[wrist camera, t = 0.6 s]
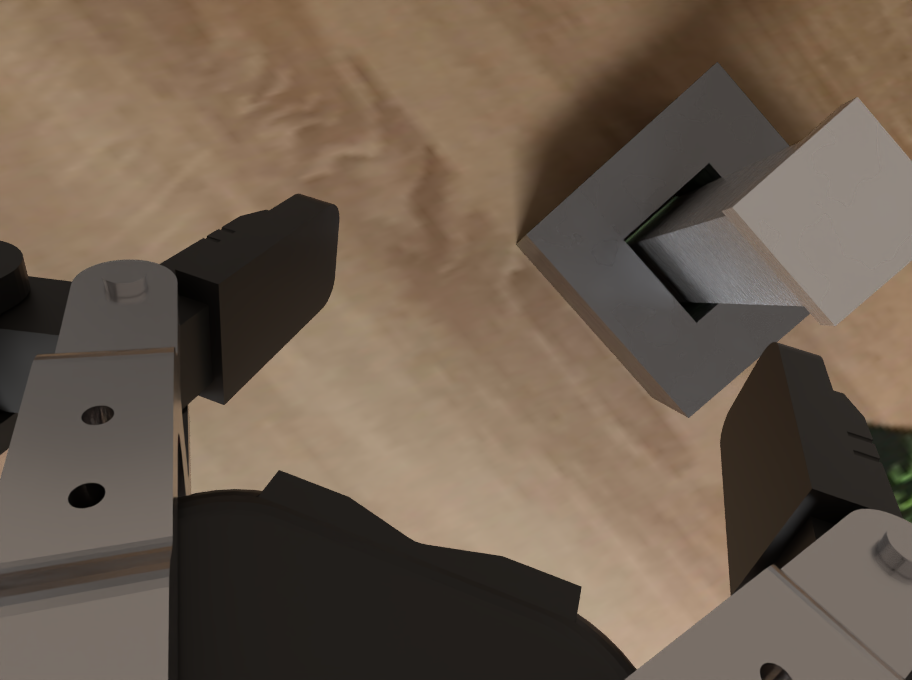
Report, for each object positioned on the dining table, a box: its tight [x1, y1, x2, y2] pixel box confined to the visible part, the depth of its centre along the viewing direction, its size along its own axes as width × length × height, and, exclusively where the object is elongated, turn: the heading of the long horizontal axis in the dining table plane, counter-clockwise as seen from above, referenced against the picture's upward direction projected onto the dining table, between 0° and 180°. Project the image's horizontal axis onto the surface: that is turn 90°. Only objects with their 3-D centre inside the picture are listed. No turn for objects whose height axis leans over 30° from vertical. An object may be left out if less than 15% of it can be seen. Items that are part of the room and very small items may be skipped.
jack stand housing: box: [516, 62, 810, 418], centre depth 33 cm, size 12×12×6 cm
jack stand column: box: [624, 97, 912, 326], centre depth 27 cm, size 5×5×17 cm
